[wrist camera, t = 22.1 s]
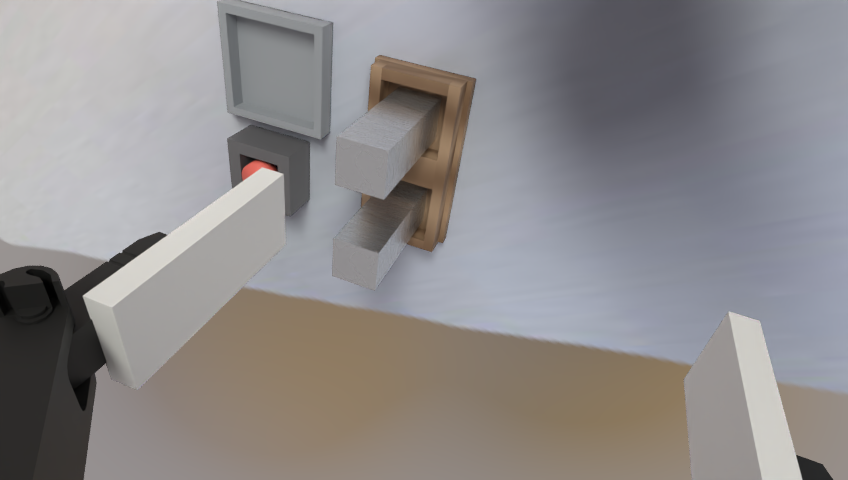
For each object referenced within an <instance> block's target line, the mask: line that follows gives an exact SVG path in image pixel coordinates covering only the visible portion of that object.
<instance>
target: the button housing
mask: <svg viewBox="0 0 848 480" xmlns="http://www.w3.org/2000/svg"><path fill="white" fill-rule="evenodd" d="M227 141H228V151H229V162H230V172H231V182H232V189H233V188H234V187H235V186H237V185H238V184H240V183H241V182H242V181H243V179H242V170H243V168H244V167H245V166H246V165H248V164H249V163H251V162H252V161H254V160H255V159H258V160H261V161H265V162H268V163H271V164H275V165H278V172H279V173H282V174H284V197H285V215H287V216H292V215H293V214H294V213H295V212H296V211H297V210H298V209H299V208H300V207H301V206H303V205H304V204H305V203H306V202H307V201H308V200H309V199H310V142H308V141H305V140H301V139H298V138H294V137H291V136H288V135H284V134H281V133H277V132H274V131H270V130H267V129H264V128H260V127H257V126H253V125H250V126H248V127H246V128H245V129H243V130H241V131H240V132H238V133H236V134H234V135H233V136H231V137H229V138H228V139H227Z"/></svg>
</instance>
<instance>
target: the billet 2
mask: <svg viewBox="0 0 848 480" xmlns="http://www.w3.org/2000/svg"><path fill="white" fill-rule="evenodd" d="M427 190H428V188H425V187H422V186H418V185H415V184H412V183H408V182H405V181H402V180H400V181H399V183H398V184H397V185H396V186H395V187H394V188H393V190H392V191H391V192H390V193H389V194H388V195H387V197H386V198H385V199H384V200H383V199H380V198H376V197H373V196H371V197H370V198H369V200H368V201H367V202H366V203H365V204H364V205H363V206H362V207H361V208H360V210H359V211H358V212H357V213H356V214H355V215H354V216H353V217H352V218H351V219H350V221H349V222H348V223H347V224H346V225H345V226H344V227H343V228H342V229H341V231H340V232H339V233H338V234H337V235H336V236H335V237H334V238H333V265H332V276H334V277H337V278H340V279H343V280H345V281H348V282H351V283H354V284H357V285H360V286H363V287H366V288H369V289H371V290H374V291H375V290H376V288H377V287H378V286H379V284H380V283H381V281H382V280H383V278H384V277H385V275H386V274H387V272H388V271H389V269H390V268H391V266H392V265H393V263H394V262H395V261H396V259H397V258H398V256H399V255H400V253H401V252H402V250H403V249H404V247H405V246H406V244H407V243H408V241H409V240H410V238H411V237H412V236H413V234H414V233H415V231H416V230H417V228H418V227H419V225H420V224H421V222H422V221H423V216H424V209H425V203H426V197H427Z"/></svg>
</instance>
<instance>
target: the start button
mask: <svg viewBox="0 0 848 480" xmlns="http://www.w3.org/2000/svg"><path fill="white" fill-rule="evenodd" d="M262 167H263V168H266V169H269V170H272V171H276V172H278V170H277V168H276V167H275V166H274V164H271V163H268V162H265V161H261V160H258V159H255V160H254V161H252V162H251V163H249V164H248V165H246V166H245V167H244V168H243V170H242V179H243V181H244V180H245V179H247V178H248V177H249V176H251V175H252V174H254V173H255V172H256V171H258V170H259V169H261V168H262Z"/></svg>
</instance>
